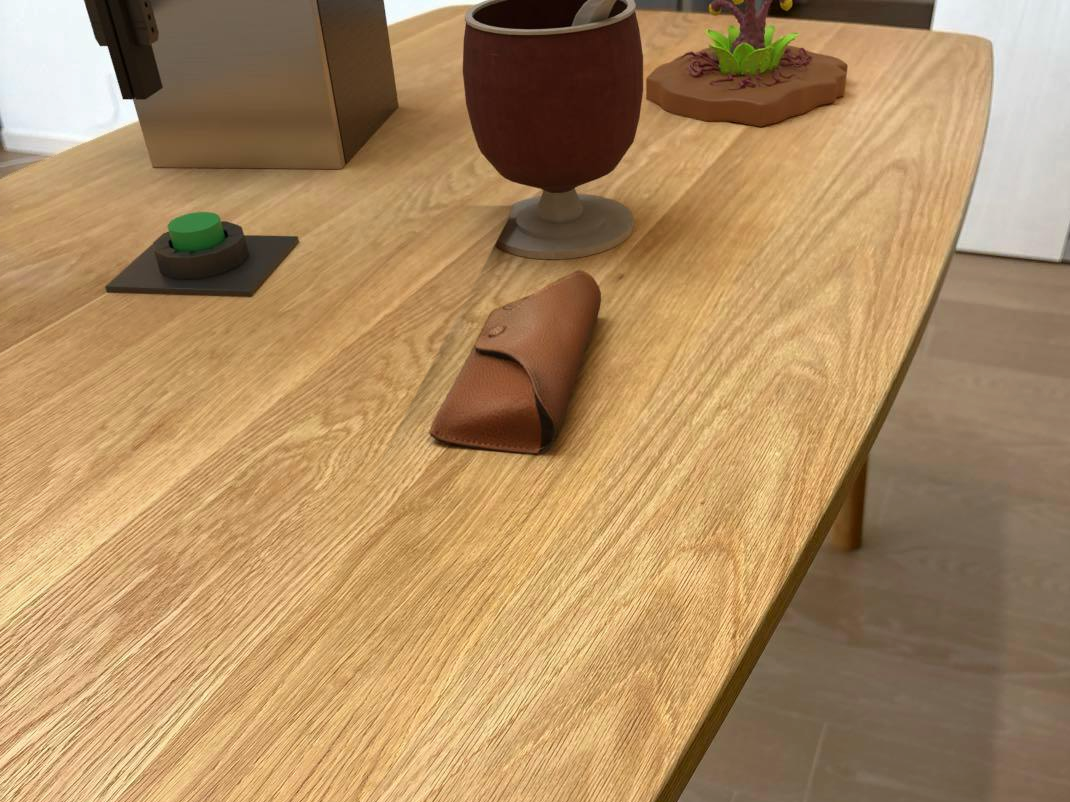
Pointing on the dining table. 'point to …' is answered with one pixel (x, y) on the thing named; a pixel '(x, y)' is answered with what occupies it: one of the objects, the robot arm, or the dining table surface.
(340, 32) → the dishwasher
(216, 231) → the button
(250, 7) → the dishwasher door
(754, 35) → the plant
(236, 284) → the panel
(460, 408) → the sunglasses case
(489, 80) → the mate gourd
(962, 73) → the dining table surface
